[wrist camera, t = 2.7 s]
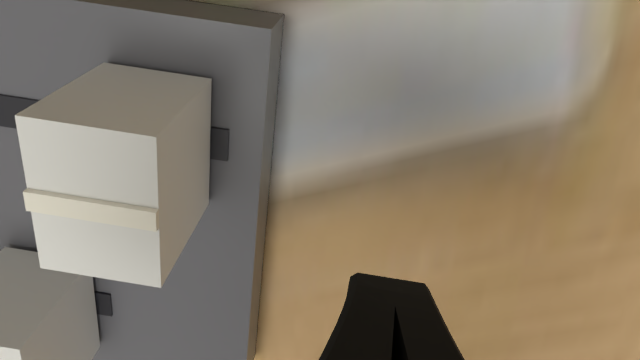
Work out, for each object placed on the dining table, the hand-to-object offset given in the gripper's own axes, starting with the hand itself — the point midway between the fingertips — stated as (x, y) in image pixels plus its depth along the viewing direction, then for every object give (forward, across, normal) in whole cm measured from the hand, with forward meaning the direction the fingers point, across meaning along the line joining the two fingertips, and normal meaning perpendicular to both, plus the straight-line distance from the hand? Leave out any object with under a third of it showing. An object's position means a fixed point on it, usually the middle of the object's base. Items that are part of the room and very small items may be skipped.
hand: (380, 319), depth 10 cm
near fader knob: (+6, +6, 0) cm, 9 cm away
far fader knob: (+6, +10, +7) cm, 14 cm away
